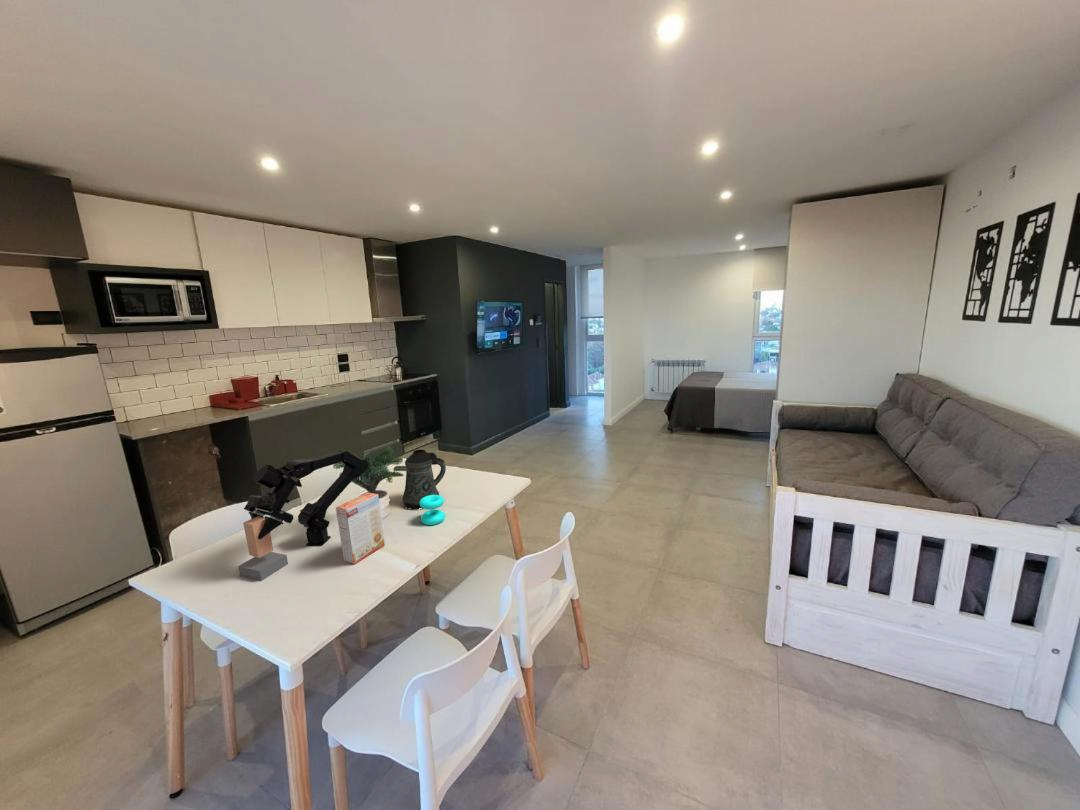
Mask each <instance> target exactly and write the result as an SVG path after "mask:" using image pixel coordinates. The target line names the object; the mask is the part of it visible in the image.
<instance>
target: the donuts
mask: <svg viewBox="0 0 1080 810" xmlns="http://www.w3.org/2000/svg"><path fill="white" fill-rule="evenodd" d="M444 502H445V500H444V497H443V496H441V495H440V494H439V495H429V496H425V497H423V498H422V499H421V500H420V502H419V504H420V506H421V507H422V508H423V509H422V510H427V511H426V512H424V513H423V514H422V515H420V516H421V517H420V522H421V523H422V524H424V525H427V526H434V525H438V524H441V523H442V522H443V521H444V520H445V519H446V513H445V512H444V511H442V510H440V509H438V508H441V507H442V506H443V505H444Z"/></svg>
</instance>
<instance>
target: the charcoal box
mask: <svg viewBox="0 0 1080 810" xmlns="http://www.w3.org/2000/svg"><path fill="white" fill-rule="evenodd" d="M287 565H289V562H288V557H287V554H284V553H280V552H274V551H272V552H270V553H268V554H266V555H264V556H262V557H260V558H257V557H254V556H252V558H250V559H248V560H246V561H244V562H243V563H241V564H239V565H238V566H237V569H238V574H239V575H238V576H240V577H242V578H247V579H251V580H254V581H259V582H262V581H264V580H265V579H267V578H269V577H270V576H272V575H273V574H275V573H276V572H279V571H280V570H281V569H283V568H285V567H286V566H287Z"/></svg>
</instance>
